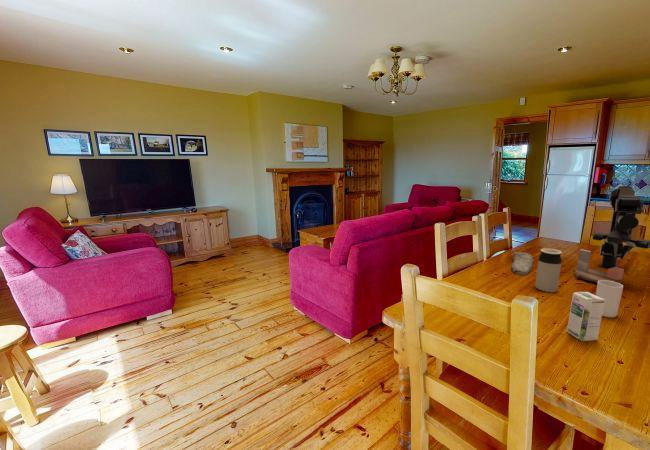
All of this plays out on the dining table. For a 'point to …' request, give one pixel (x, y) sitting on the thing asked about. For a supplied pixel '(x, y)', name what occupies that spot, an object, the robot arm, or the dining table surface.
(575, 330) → the syrup box
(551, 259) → the travel mug
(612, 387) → the dining table surface
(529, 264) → the elongated rock
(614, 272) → the dusty pink block
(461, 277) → the dining table surface
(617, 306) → the mug
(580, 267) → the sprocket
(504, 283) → the dining table surface
